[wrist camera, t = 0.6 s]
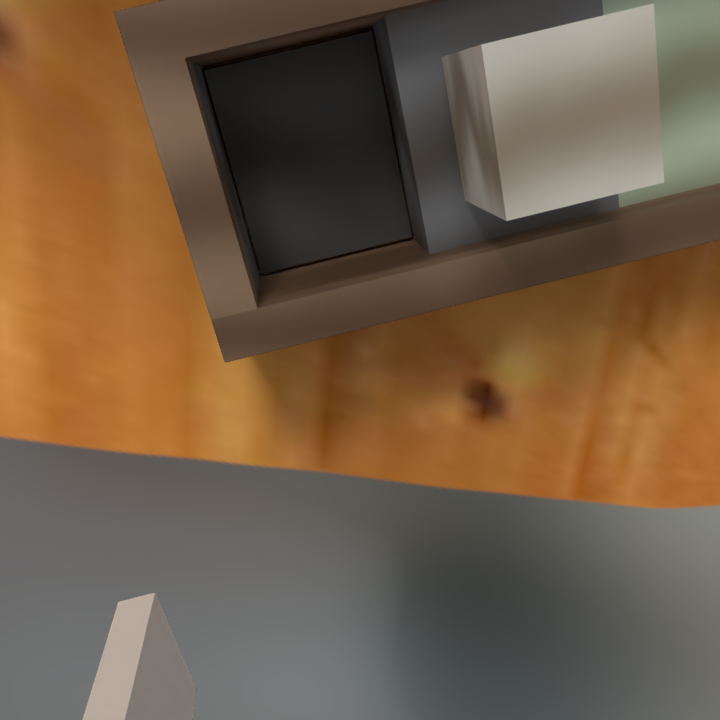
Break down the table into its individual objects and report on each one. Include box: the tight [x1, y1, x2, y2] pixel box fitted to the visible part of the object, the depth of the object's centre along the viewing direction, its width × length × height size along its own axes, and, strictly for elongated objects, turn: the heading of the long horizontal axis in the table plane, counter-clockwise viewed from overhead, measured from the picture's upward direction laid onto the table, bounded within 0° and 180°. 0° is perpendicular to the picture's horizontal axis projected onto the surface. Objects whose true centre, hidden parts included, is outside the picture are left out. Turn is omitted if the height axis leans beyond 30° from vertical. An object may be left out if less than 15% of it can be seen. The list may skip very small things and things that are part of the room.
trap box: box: [114, 0, 720, 363], centre depth 31 cm, size 14×38×6 cm, turn 103°
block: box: [441, 3, 664, 221], centre depth 27 cm, size 6×6×6 cm
